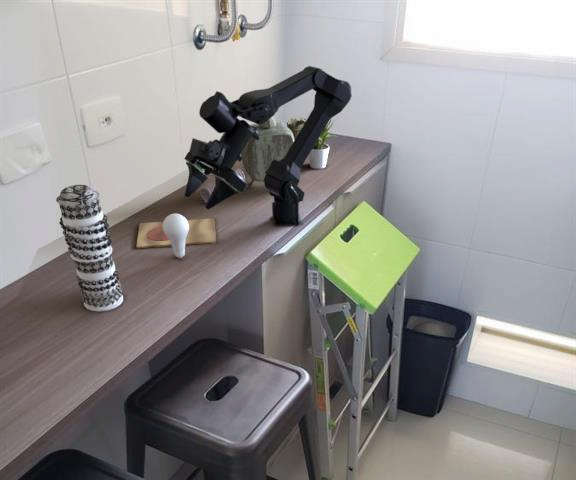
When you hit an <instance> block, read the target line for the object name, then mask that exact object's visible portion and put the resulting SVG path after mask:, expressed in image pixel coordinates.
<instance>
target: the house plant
mask: <svg viewBox="0 0 576 480" xmlns="http://www.w3.org/2000/svg"><path fill="white" fill-rule="evenodd" d="M311 112H312V111H310V113H309V114H311ZM333 118H334V117H332V118H331V119H330V120H329V122H328V123H327V125H326V127H325V128H324V130H323V132H322V133H321V135H320V137H319V138H318V140H317V142H316V143H315V145H314V147H313V148H312V150H311V152H310V153H309V155H308V160H309V167H310V168H311V169H315V170H322V169H325V168H326V166H327V163H328V158H329V157H328V156H329V152H330V145H329V144H327V143H326V141H327V140H328V139H329V138H332V137H333V135H330V134H329V133H332V131H330V129H331V128H332V127H333V126H334V122H335V121H336V119H334V120H333ZM296 119H297V120H300V119H301V118H300V117H296ZM301 120H303V118H302V119H301ZM332 120H333V122H332ZM303 121H305V120H303ZM301 122H302V121H301ZM305 122H306V121H305ZM305 122H304V123H305ZM304 123H303V124H304ZM295 130H296V131H300V129H295ZM335 137H336V138H338V136H337V135H335Z"/></svg>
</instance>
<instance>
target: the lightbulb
mask: <svg viewBox="0 0 576 480" xmlns="http://www.w3.org/2000/svg"><path fill="white" fill-rule="evenodd" d="M187 220H188V219H187V218H186V217H185V216H184V215H182V214H180V213H172V214H169V215H167V216H166V217H165V218H164V220H163V221H162V222H163V230H164V233H165V234H166V236H167V237H168V238H169V240H170V241H171V244H172V246H171V248H172V249H173V253H174V256H175V257H176V258H178V259H182V258H183V257H185V255H186V249H185V248H186V245H185V240H186V236H187V234H188V231H189V224H188V221H187Z"/></svg>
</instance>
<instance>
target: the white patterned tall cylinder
mask: <svg viewBox="0 0 576 480" xmlns="http://www.w3.org/2000/svg"><path fill="white" fill-rule="evenodd" d="M99 198H100V193H99V192H98V191H97V190H94V189H93V188H92V187H91V186H89V185H86V184H74V185H69V186H66V187H64V188H63V189H62V190H61V191H60V193H59V195H57V197H56V199H55V201H56V202H57V203H58V204H59V205H58V206H59V209H60V212H61V215H60V218H59V225H60V228H61V229H62V230H63V231H62V235H63V236H64V241H65V243H66V245H67V246H68V247H67V250H68V251H69V254H70V258H71V259H72V260H73V262H74V264H75V272H76V274H77V275H76V280H77V282H78V283H77V285H78V287H79V288H80V289H79V292H80V295H81V300H82V302H83V306H84V307H85V308H86V309H87V310H89V311H91V312H100V313H101V312H107V311H111V310H113V309H116V308H117V307H119V306H121V304H122V303H123V301H124V296H123V294H122V293H123V290H122V287H121V286H122V284H121V282H120V281H119V280H120V277H119V274H118V273H119V272H118V268H117V267H116V265H115V261H114V259H113V256H112V253H113V246H112V244H113V241H112V239H110V238H111V232H109V231H108V229H109V227H110V224H109V223H108V222H107V221H108V219H109V217H108V216H107V215H106V214H104V211H103V208H102V207H101V201H100V199H99Z"/></svg>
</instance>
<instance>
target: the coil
mask: <svg viewBox="0 0 576 480" xmlns="http://www.w3.org/2000/svg"><path fill="white" fill-rule="evenodd" d="M233 170H234V171H235V172H236V173H238V174H239V175H240V176H241V177H242V178H243V179H244V180H246V176H245V173H244V171H243V170H242V169H240V168H235V169H233ZM219 178H220V177H219ZM220 179H222V178H220ZM214 188H215V179H214V180H212V181H210V182H209V183H207V184H205V185H203V186H200V189H199V195H200V198H201V199H202V200H203V203H204V204H206V203H207V201H208V199H209V197H210V195H211V193H212V192H213V190H214Z"/></svg>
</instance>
